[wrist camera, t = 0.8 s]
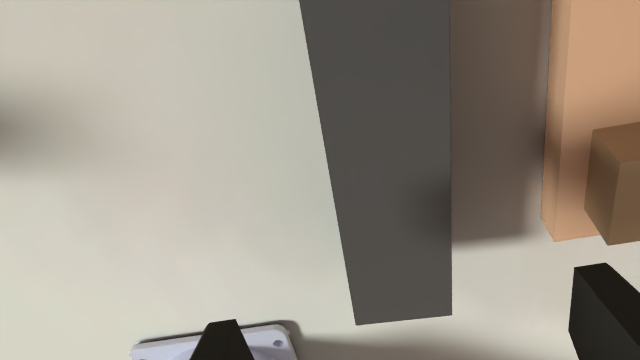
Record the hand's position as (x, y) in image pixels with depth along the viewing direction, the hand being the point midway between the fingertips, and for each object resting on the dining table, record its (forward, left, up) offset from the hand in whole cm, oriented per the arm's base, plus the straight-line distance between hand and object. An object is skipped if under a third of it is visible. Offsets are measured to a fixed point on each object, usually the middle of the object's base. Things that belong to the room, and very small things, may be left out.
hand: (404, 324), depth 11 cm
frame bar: (0, 0, -10) cm, 10 cm away
